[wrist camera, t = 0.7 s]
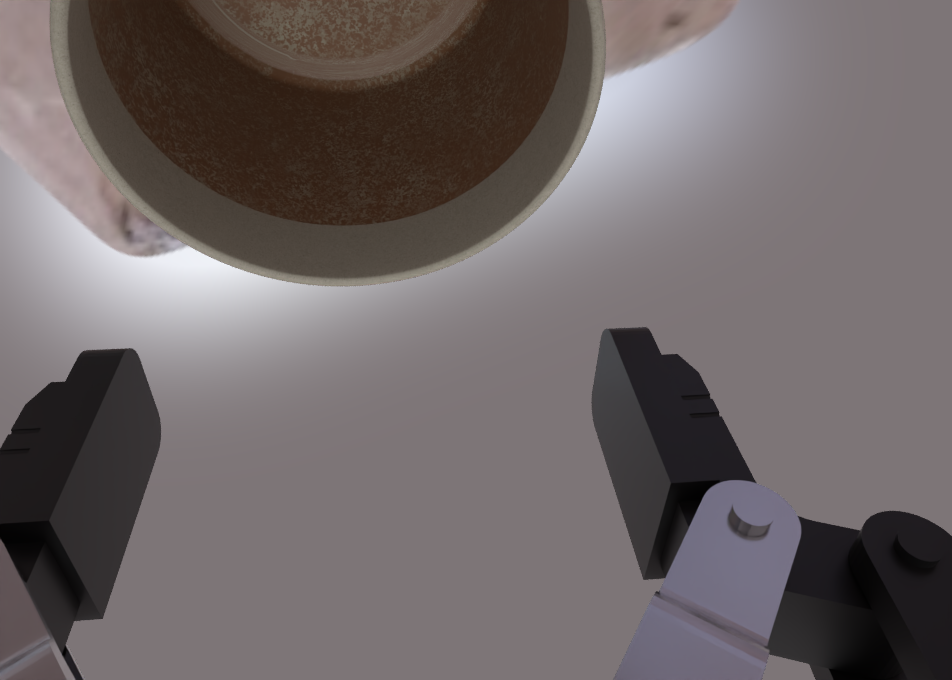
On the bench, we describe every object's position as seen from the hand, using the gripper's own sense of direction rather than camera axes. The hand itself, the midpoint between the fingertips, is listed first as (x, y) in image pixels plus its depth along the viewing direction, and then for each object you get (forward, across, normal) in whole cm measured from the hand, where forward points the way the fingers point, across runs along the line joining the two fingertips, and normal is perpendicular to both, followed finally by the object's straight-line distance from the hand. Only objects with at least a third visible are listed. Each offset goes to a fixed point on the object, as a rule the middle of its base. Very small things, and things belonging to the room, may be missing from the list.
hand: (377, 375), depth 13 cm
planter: (+26, +2, -4) cm, 26 cm away
